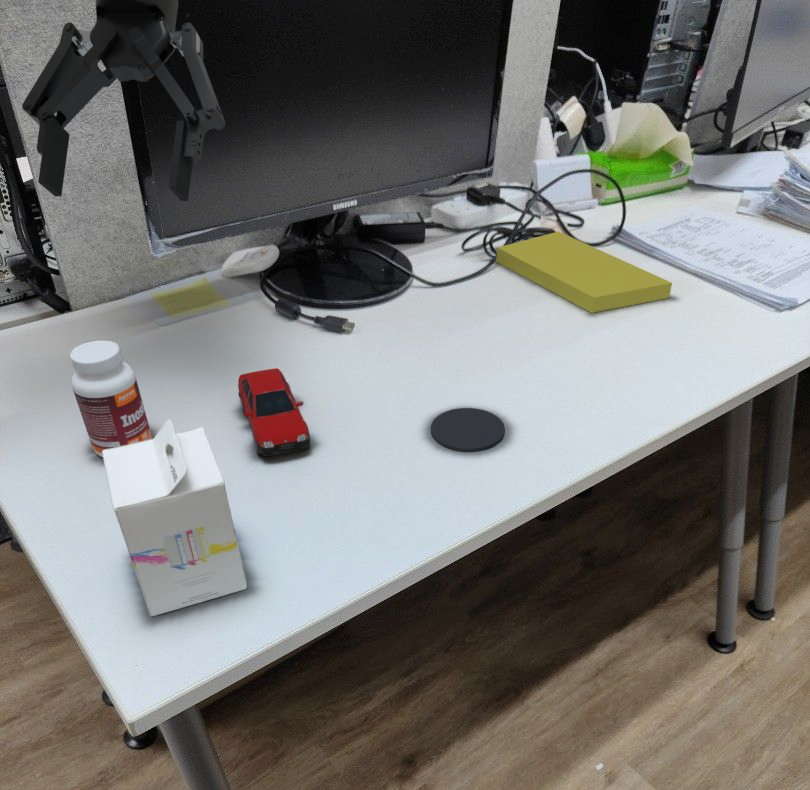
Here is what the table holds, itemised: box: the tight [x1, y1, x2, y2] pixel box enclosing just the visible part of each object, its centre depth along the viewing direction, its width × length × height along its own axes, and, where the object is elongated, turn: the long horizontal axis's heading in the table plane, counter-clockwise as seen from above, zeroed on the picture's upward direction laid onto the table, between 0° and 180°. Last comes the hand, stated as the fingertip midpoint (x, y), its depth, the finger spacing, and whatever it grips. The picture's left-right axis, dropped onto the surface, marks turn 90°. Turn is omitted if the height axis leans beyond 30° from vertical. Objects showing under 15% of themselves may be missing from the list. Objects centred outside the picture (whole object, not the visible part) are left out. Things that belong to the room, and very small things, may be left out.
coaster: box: [430, 407, 506, 453], centre depth 83 cm, size 8×8×1 cm
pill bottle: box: [69, 340, 152, 458], centre depth 78 cm, size 6×6×11 cm
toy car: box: [237, 367, 311, 457], centre depth 83 cm, size 6×14×5 cm, turn 19°
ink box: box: [102, 418, 248, 617], centre depth 62 cm, size 9×8×13 cm
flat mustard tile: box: [495, 231, 673, 314], centre depth 111 cm, size 12×2×24 cm
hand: (113, 192), depth 75 cm, fingers open, 13 cm apart
